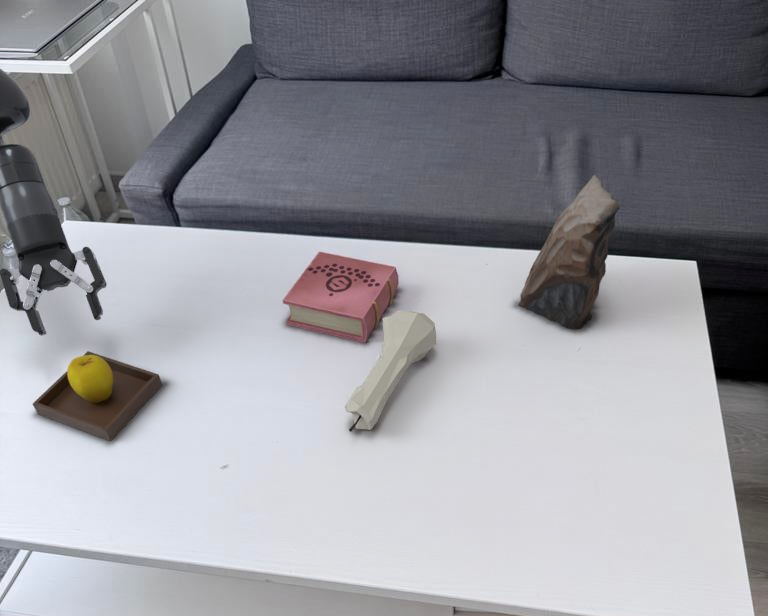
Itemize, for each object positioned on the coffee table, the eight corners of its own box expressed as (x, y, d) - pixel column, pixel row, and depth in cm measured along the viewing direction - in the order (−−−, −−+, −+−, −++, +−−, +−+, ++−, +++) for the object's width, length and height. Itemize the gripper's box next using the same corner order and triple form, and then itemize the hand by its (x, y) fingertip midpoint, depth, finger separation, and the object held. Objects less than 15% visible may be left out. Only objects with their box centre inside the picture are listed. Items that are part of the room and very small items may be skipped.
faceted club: (451, 342, 120) (385, 454, 108) (405, 340, 124) (336, 447, 112) (437, 296, 114) (365, 409, 101) (389, 296, 118) (315, 404, 106)
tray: (38, 414, 116) (32, 403, 114) (92, 361, 123) (87, 350, 121) (110, 441, 111) (105, 430, 110) (162, 385, 118) (158, 374, 117)
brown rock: (569, 275, 131) (589, 164, 115) (622, 311, 125) (652, 198, 109) (515, 303, 127) (528, 192, 111) (567, 341, 120) (589, 229, 105)
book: (369, 343, 122) (368, 319, 118) (286, 324, 126) (282, 300, 122) (401, 292, 130) (400, 267, 126) (322, 275, 134) (319, 251, 130)
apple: (126, 399, 116) (109, 360, 110) (87, 417, 114) (67, 377, 108) (112, 377, 119) (95, 337, 113) (74, 393, 117) (54, 354, 111)
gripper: (-25, 226, 108) (16, 336, 110) (73, 201, 110) (111, 310, 112) (-7, 239, 115) (31, 342, 118) (84, 215, 117) (120, 317, 120)
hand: (70, 326), depth 115 cm, fingers open, 8 cm apart
